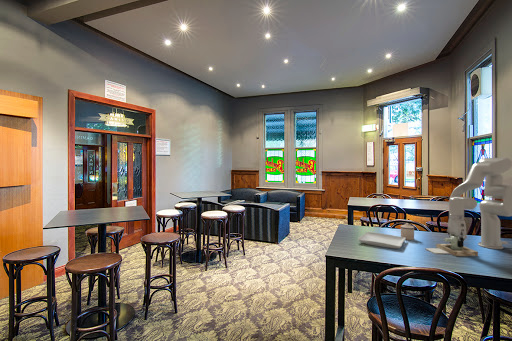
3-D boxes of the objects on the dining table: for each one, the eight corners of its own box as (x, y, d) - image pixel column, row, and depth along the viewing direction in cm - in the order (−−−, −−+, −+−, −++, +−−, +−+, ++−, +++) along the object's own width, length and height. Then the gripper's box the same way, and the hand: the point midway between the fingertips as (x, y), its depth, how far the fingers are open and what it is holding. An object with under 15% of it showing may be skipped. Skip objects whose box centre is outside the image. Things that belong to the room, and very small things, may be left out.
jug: (457, 247, 165) (457, 235, 165) (464, 250, 159) (464, 237, 159) (442, 247, 165) (442, 235, 165) (449, 250, 159) (449, 237, 159)
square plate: (400, 251, 163) (400, 245, 163) (356, 244, 179) (356, 238, 179) (406, 242, 184) (406, 236, 184) (366, 236, 201) (366, 231, 201)
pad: (439, 249, 167) (439, 248, 167) (449, 253, 158) (449, 252, 158) (425, 249, 167) (425, 248, 167) (434, 253, 158) (434, 252, 158)
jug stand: (457, 247, 170) (457, 244, 170) (478, 256, 154) (478, 251, 154) (436, 247, 170) (436, 243, 170) (454, 255, 154) (454, 251, 154)
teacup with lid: (416, 240, 187) (416, 224, 186) (403, 240, 188) (403, 224, 188) (409, 236, 198) (409, 221, 198) (397, 235, 200) (397, 221, 200)
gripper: (473, 220, 153) (473, 249, 153) (452, 214, 170) (452, 241, 170) (461, 220, 153) (461, 249, 153) (440, 214, 170) (440, 241, 171)
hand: (456, 245), depth 162 cm, fingers closed on jug, 5 cm apart
